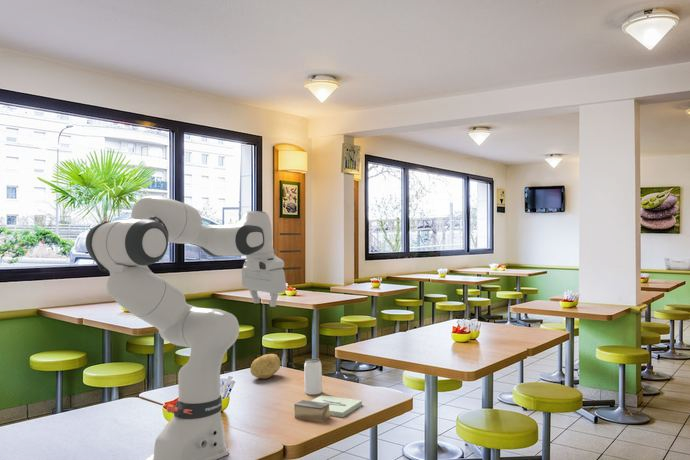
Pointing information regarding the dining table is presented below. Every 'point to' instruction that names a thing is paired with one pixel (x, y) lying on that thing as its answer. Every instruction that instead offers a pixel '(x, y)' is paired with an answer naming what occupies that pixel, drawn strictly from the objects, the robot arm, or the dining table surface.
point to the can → (313, 376)
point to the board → (339, 405)
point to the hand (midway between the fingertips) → (264, 304)
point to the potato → (265, 366)
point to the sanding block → (311, 410)
